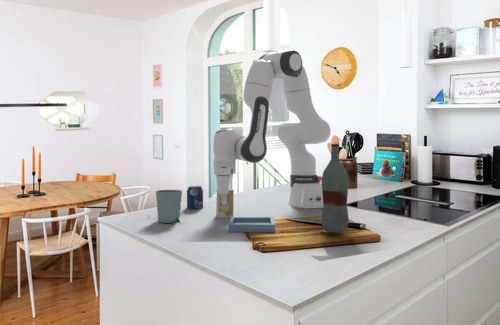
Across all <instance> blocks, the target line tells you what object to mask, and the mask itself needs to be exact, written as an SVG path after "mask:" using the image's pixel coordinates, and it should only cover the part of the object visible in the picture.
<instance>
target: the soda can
mask: <svg viewBox="0 0 500 325" xmlns="http://www.w3.org/2000/svg"><path fill="white" fill-rule="evenodd" d="M186 209H187V210H193V211H195V210H196V211H197V210H202V209H204V190H203V187H202V186H199V185H195V186H194V185H191V186H188V187H187V190H186Z"/></svg>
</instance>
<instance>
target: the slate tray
mask: <svg viewBox="0 0 500 325" xmlns="http://www.w3.org/2000/svg"><path fill="white" fill-rule="evenodd" d="M227 226H228V228H227V229H228V233H267V232H268V233H275V232H276V223H275V219H274V216H233V217H230V219H229V222H228V225H227Z"/></svg>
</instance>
